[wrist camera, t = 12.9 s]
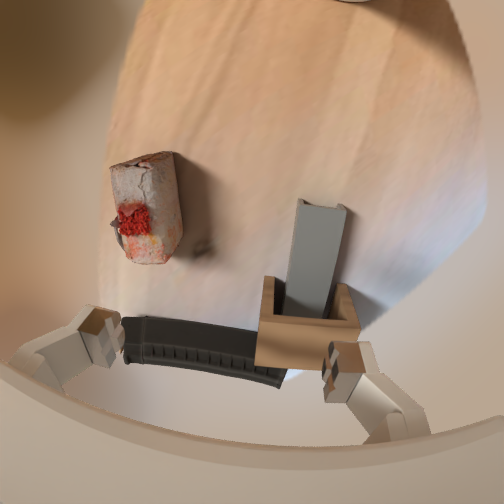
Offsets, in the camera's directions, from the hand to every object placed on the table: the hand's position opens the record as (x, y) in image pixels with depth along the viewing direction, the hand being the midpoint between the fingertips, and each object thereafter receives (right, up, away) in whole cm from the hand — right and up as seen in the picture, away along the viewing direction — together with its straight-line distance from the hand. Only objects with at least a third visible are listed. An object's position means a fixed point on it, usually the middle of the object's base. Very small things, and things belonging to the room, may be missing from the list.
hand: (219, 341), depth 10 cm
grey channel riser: (+9, +1, +31) cm, 32 cm away
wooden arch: (+9, -4, +33) cm, 35 cm away
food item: (-12, +11, +28) cm, 33 cm away
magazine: (-6, -10, +38) cm, 40 cm away
